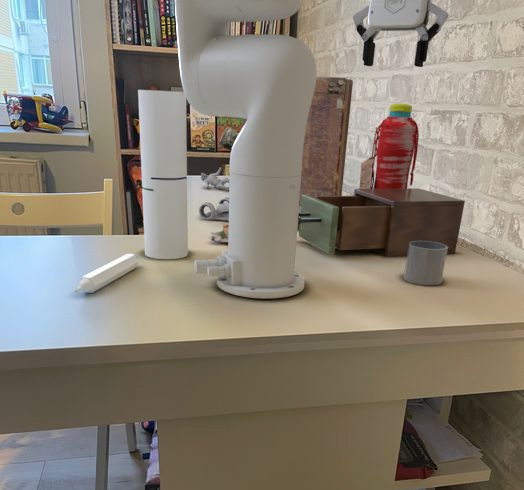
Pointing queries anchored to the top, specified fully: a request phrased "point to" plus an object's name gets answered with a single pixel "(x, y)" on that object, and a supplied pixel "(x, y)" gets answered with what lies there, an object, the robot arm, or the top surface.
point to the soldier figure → (215, 180)
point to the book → (326, 138)
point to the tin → (425, 262)
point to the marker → (107, 273)
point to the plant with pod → (227, 143)
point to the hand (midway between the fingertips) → (392, 66)
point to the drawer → (344, 222)
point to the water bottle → (392, 151)
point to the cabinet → (417, 218)
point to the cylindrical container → (164, 172)
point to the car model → (218, 210)
